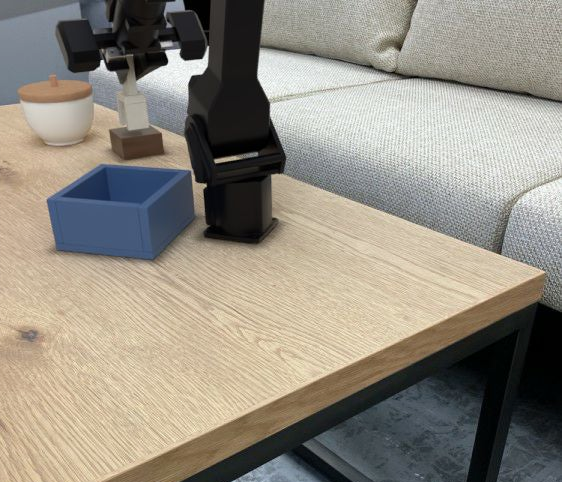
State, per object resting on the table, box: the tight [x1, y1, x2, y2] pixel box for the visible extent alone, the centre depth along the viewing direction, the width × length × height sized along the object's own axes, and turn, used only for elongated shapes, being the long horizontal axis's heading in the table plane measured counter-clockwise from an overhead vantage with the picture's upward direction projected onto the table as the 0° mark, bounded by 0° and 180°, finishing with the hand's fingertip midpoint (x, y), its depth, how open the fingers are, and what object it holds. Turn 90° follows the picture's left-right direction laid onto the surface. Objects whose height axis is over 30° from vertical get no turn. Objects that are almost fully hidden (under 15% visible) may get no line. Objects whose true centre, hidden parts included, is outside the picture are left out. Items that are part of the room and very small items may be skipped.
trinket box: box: [16, 74, 95, 147], centre depth 106 cm, size 11×11×9 cm
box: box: [46, 163, 196, 261], centre depth 75 cm, size 11×12×6 cm
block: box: [108, 124, 165, 161], centre depth 102 cm, size 6×6×3 cm
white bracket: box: [115, 54, 150, 131], centre depth 98 cm, size 4×3×10 cm
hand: (125, 80), depth 98 cm, fingers closed on white bracket
